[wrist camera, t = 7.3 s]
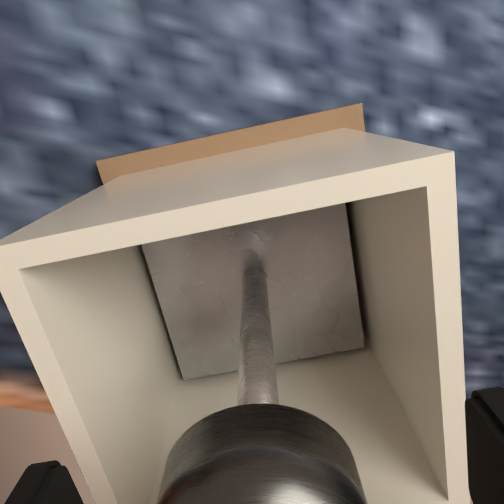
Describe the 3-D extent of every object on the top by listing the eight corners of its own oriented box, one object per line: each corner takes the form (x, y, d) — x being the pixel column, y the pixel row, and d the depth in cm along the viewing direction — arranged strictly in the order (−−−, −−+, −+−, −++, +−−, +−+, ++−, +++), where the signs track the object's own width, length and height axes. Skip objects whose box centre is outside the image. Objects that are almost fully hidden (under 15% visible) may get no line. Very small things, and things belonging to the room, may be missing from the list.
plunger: (335, 159, 19) (564, 297, 5) (360, 339, 22) (545, 722, 8) (133, 202, 20) (-141, 427, 6) (185, 371, 23) (88, 777, 9)
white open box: (356, 103, 22) (496, 98, 9) (384, 337, 26) (501, 538, 14) (102, 159, 23) (-73, 220, 10) (172, 376, 27) (109, 596, 15)
